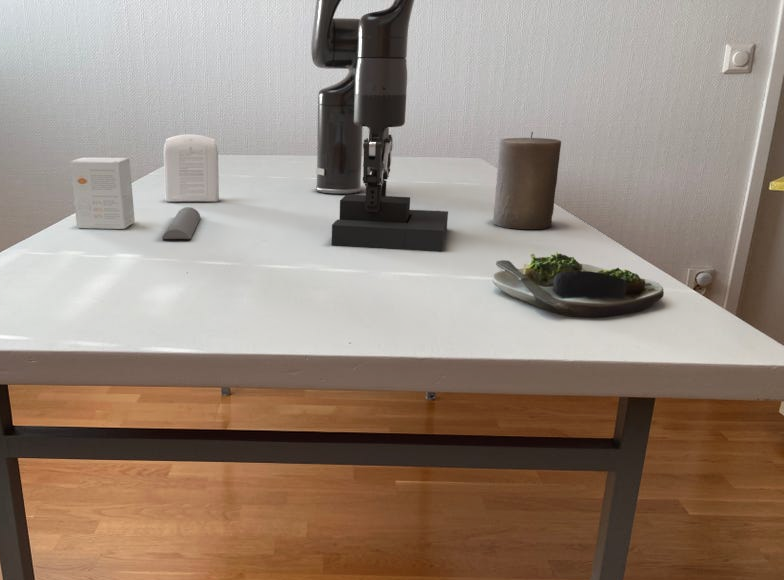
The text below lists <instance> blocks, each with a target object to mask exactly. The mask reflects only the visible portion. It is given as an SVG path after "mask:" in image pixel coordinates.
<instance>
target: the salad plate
mask: <svg viewBox="0 0 784 580" xmlns="http://www.w3.org/2000/svg"><path fill="white" fill-rule="evenodd" d="M530 259H531V261H530V262H528V263H524V264H523V268H517V267H516V266H515V265H514V264H513V262H511V261H510V260H506V259H505V260H504V259H502V260H496V263H495V265H496V267H497V268H498V269H499V270H500V271H497V272H495V273H493V275H492V284H493V285H494V286H495V287H497V288H498V289H499V290H501V291H503V292H504V293H506V294H507V295H509V296H511V298H514V299H517V300H519V301H522V302H524V303H525V302H526V303H528V304H530V305H533V306H535V307H537V308H539V309H542V310H545V311H549V312H552V313H555V314H558V315H563V316H569V317H570V316H571V317H579V318H608V317H615V316H622V315H628V314H633V313H639V312H642V311H645V310H647V309H649V308H651V307H652V306H653V305H654V304H655V303H657V302H658V301H660V300H661V299H662V298H664V295H665V291H664V287H663V286H662V285H661V284H660V283H659V282H657V281H654V280H652V279H648V278H642V277H640V276H639V274H637V273H635V272H632V271H631V270H628V269H620V267H616V268H612V269H606V268H602V267H599V266H595V265H591V264H588V263H581V262H579V261H577V259H575V256H568V255H566V254H562V253H559V252H557V251H556V252H555V254H550V256H542V257H541V256H540V257H536V255H535V254H534V253H531V254H530Z"/></svg>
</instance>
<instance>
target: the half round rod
mask: <svg viewBox="0 0 784 580" xmlns="http://www.w3.org/2000/svg"><path fill="white" fill-rule="evenodd" d="M200 221H201V214H200V212H199V211H198V210H197V209H196V208H194V207H189V206H187V207H183V208H181V209H180V210H178V212H177V213H176V215H175V216H174V218H173V219H172V221H171V223H170V224H169V226H168V227H167V228H166V230H165V232H164V234H163V235H162V236H161V239H163V240H191V239H192V237H193V235H194V233H195V231H196V229H197V227H198V224H199V222H200Z"/></svg>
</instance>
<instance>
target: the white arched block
mask: <svg viewBox="0 0 784 580" xmlns="http://www.w3.org/2000/svg"><path fill="white" fill-rule="evenodd" d="M218 150H219V149H218V145H217V143H216V139H215V138H212V137H210V136H206V135H201V134H194V133H190V134H189V133H187V134H185V133H184V134H178V135H173V136H170V137H168V138H166V139H165V143H164V145H163V172H164V198H165V201H166V202H174V203H175V202H179V203H181V202H182V203H183V202H185V203H187V202H190V203H191V202H193V203H194V202H197V203H198V202H202V203H203V202H204V203H205V202H211V203H212V202H213V203H216V202H219V200H220V186H219V183H220V182H219V180H220V178H219V177H220V176H219V151H218Z"/></svg>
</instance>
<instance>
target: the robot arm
mask: <svg viewBox="0 0 784 580" xmlns="http://www.w3.org/2000/svg"><path fill="white" fill-rule="evenodd" d="M342 1H343V0H316V2H315V10H314V16H313V23H312V32H311V40H310V54H311V55H310V56H311V61H312V62H313V64H314V66H315V67H317V68H319V69H325V70H326V69H327V70H330V69H332V70H348V72H347V75H346V76H345V77H344V78H342V79H341V80H340V81H338V82H337V83H335V84H332V85H330V86H327V87H324V88H321V89H319V91H318V93H317V135H316V136H317V145H316V147H317V148H316V149H317V150H316V167H315V174H316V186H315V187H316V188H315V191H316V192H318V193H324V194H332V195H347V194H350V195H351V194H357V193H360V192H361V191H362V181H363V184H364V186H365V195H366V200H365V210H366V211H367V212H379V211H380V208H381V196H387V184H388V183H387V182H388V180H389V177H390V173H391V164H392V151H393V147H394V139H393V137H392V134H390V132H389V131H390V128H399V127H403V126H404V125H405V123H406V113H407V112H406V109H407V91H408V90H407V89H408V65H407V64H408V63H407V57H408V37H409V28H410V22H411V21H410V20H411V16H412V12H413V7H414V2H415V0H393V2H392V4H391V5H390V6H389V7H388V8H386V9H382V10H378V11H372V12H368V13H366V14H363V15H361V17H360V18H347V17H346V18H345V17H344V18H343V17H341V18H340V17H339V18H338V17H337V18H336V17H335V18H334V16H335V14H336V12H337V10H338V7H339V6H340V4H341V2H342ZM363 127H367V129H368V134H367V137H366V139H365V138H364V139H363V134H364V133H363V132H364V131H363V130H364V128H363ZM362 159H363V160H362ZM362 161H363V162H362ZM362 168H363V171H362ZM362 172H363V175H362Z"/></svg>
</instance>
